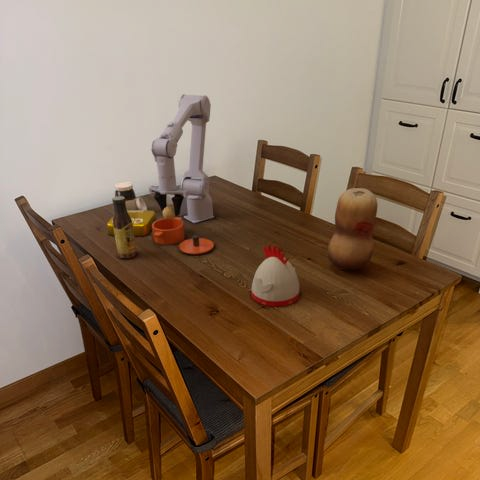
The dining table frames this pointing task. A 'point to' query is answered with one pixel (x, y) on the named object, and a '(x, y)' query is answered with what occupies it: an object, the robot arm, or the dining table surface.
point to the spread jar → (129, 196)
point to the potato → (169, 212)
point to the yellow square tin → (138, 222)
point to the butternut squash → (353, 229)
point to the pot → (168, 231)
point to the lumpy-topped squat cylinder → (183, 206)
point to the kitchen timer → (275, 280)
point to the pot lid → (196, 245)
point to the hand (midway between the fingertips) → (171, 214)
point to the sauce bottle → (123, 229)
